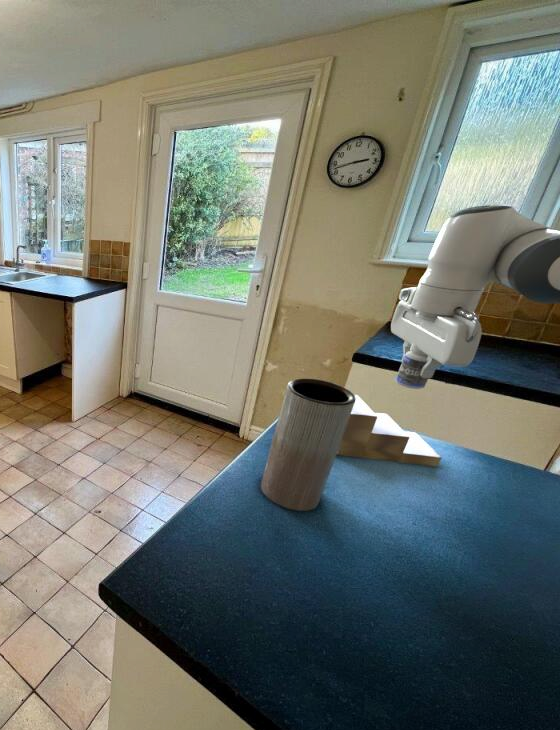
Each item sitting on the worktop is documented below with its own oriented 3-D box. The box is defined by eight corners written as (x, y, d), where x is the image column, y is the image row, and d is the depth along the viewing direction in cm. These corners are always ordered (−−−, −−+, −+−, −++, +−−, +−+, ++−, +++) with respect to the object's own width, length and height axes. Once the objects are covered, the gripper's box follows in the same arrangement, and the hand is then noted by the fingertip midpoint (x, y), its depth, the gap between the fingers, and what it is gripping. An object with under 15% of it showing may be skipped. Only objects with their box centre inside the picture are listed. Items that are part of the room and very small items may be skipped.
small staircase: (410, 443, 96) (429, 401, 91) (436, 469, 87) (458, 424, 82) (310, 432, 100) (323, 391, 96) (325, 455, 92) (340, 412, 87)
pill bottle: (388, 381, 85) (403, 342, 81) (405, 378, 86) (421, 339, 82) (413, 391, 80) (430, 350, 77) (430, 387, 82) (448, 347, 78)
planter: (308, 483, 83) (342, 381, 73) (325, 517, 74) (367, 407, 65) (255, 475, 85) (281, 375, 76) (265, 508, 77) (296, 400, 67)
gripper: (506, 318, 66) (468, 395, 72) (432, 289, 84) (406, 353, 90) (460, 315, 67) (426, 391, 73) (396, 288, 85) (373, 350, 91)
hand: (415, 370), depth 82 cm, fingers closed on pill bottle, 5 cm apart
